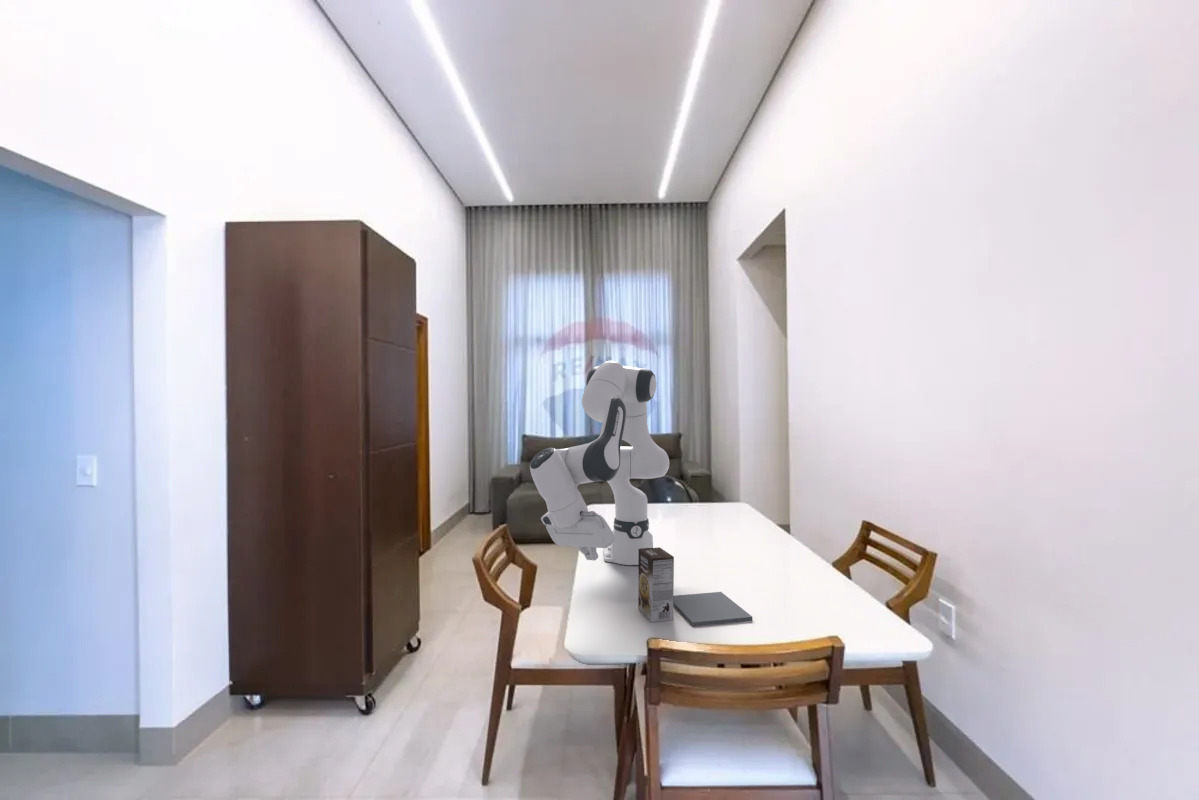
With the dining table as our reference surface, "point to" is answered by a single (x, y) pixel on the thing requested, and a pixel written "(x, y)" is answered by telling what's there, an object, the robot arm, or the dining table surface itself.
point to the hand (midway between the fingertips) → (593, 558)
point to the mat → (709, 609)
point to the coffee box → (656, 584)
